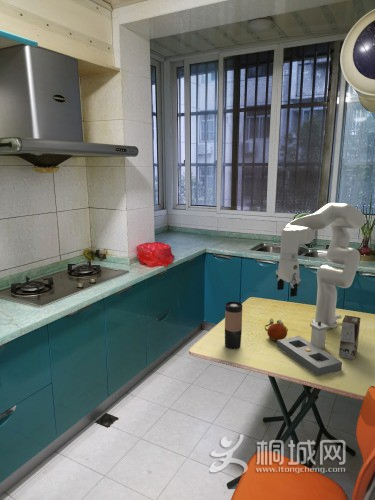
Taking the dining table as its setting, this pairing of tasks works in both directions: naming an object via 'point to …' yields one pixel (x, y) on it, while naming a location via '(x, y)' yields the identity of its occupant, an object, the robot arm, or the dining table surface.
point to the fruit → (277, 331)
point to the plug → (318, 334)
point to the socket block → (309, 355)
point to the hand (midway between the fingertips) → (286, 292)
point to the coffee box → (349, 337)
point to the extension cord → (277, 322)
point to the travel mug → (233, 325)
